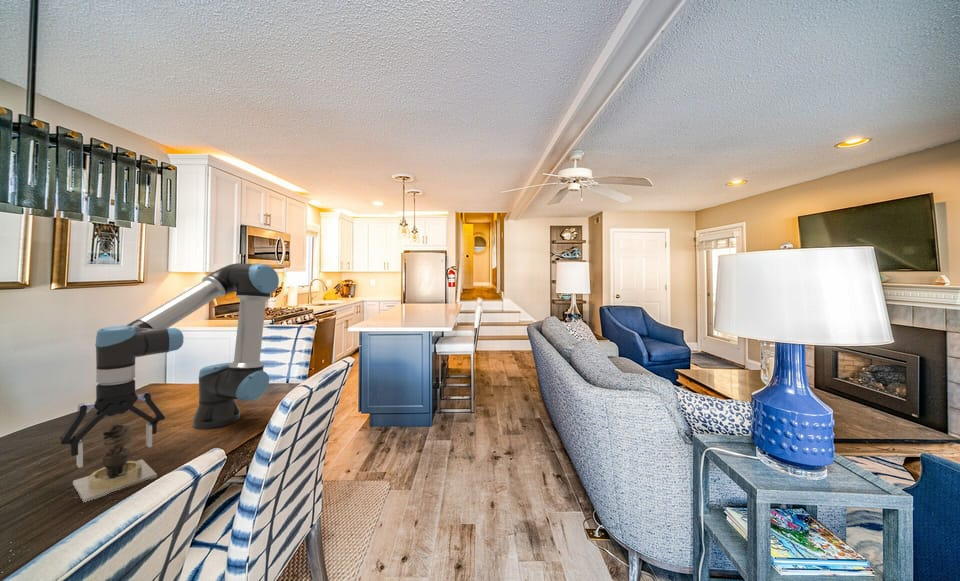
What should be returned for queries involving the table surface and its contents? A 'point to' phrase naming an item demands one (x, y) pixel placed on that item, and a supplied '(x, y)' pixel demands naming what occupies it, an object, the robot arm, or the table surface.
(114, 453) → the dark brown lumpy column
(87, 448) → the table surface
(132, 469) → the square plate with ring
